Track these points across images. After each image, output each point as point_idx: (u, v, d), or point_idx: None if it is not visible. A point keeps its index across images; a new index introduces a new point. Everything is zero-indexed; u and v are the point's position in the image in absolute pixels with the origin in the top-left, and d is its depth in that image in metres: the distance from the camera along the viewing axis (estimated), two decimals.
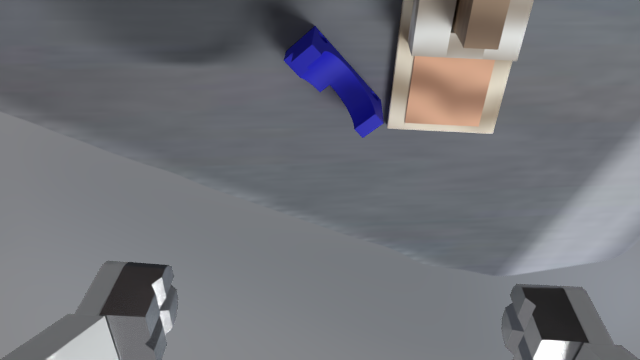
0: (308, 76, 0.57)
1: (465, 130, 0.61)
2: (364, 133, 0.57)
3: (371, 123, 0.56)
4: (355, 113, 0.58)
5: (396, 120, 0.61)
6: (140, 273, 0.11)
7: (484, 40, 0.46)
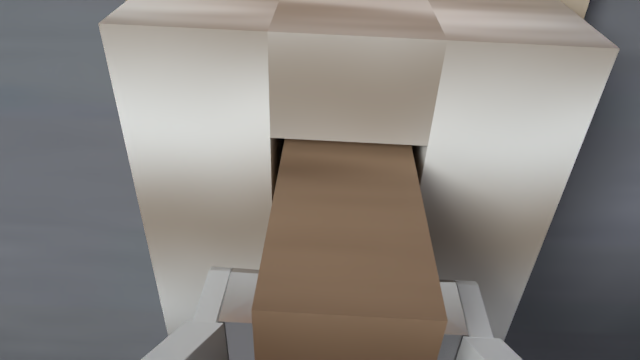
0: None
1: None
2: None
3: None
4: None
5: None
6: (248, 279, 0.11)
7: (335, 345, 0.09)
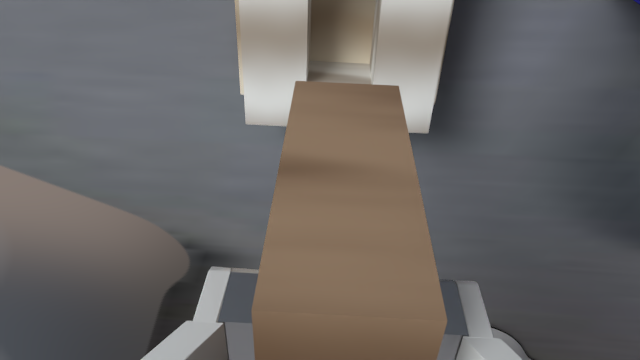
0: None
1: None
2: None
3: None
4: None
5: None
6: (248, 279, 0.11)
7: (335, 345, 0.09)
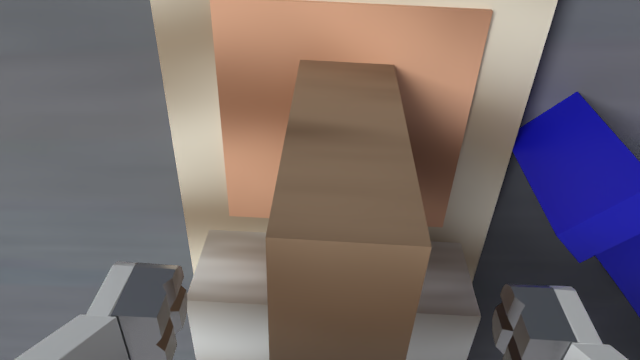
0: None
1: None
2: None
3: (603, 234, 0.15)
4: None
5: (521, 16, 0.16)
6: (151, 273, 0.11)
7: (336, 270, 0.10)
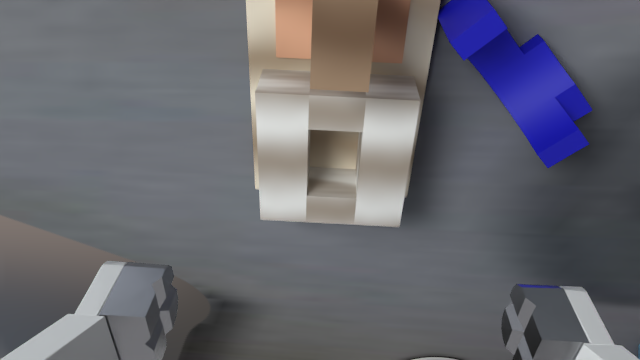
0: (558, 78, 0.35)
1: None
2: (489, 18, 0.29)
3: (473, 41, 0.30)
4: None
5: None
6: (140, 273, 0.11)
7: (341, 8, 0.25)
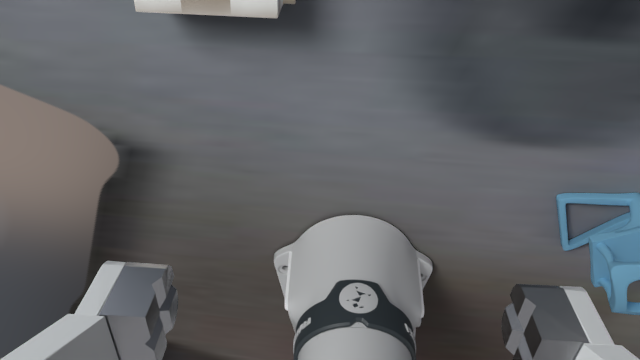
0: None
1: None
2: None
3: None
4: None
5: None
6: (140, 273, 0.11)
7: None
